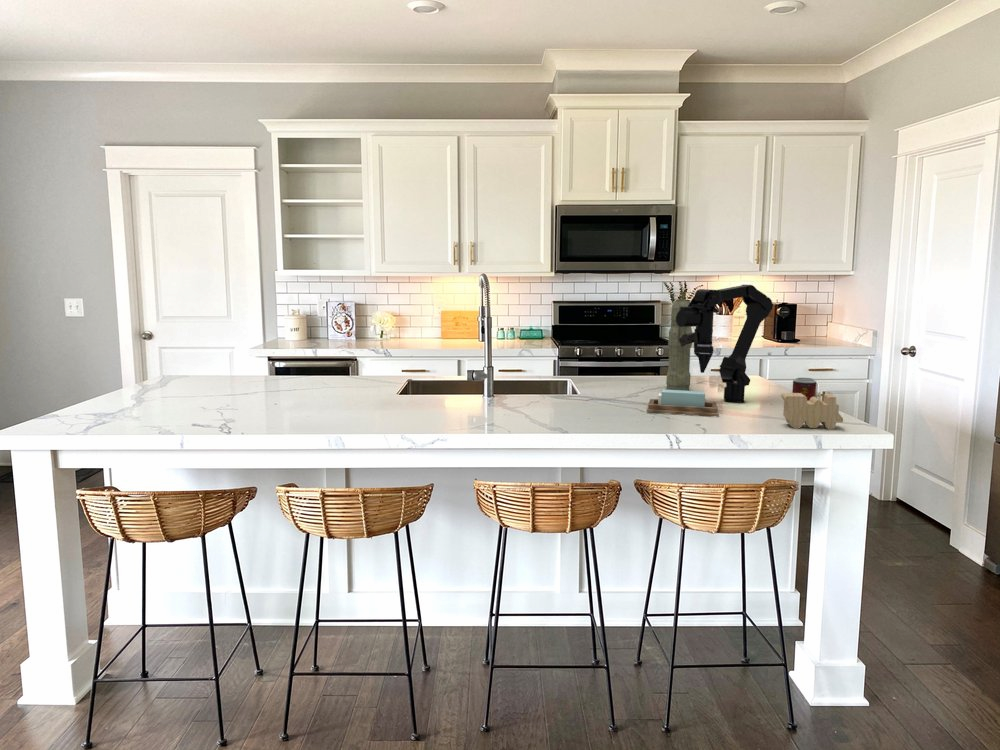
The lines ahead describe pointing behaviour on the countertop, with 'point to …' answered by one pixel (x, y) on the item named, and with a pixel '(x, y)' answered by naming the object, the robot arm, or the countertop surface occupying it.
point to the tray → (683, 409)
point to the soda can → (805, 387)
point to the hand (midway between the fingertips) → (702, 370)
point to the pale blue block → (682, 398)
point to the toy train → (811, 411)
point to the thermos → (678, 352)
